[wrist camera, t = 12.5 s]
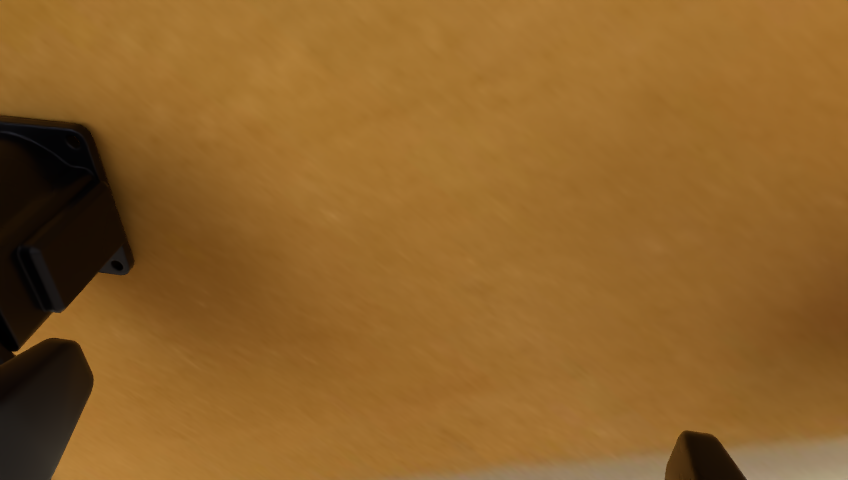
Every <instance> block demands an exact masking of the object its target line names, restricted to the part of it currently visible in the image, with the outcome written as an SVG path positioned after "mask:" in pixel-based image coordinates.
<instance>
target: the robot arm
mask: <svg viewBox="0 0 848 480" xmlns="http://www.w3.org/2000/svg"><path fill="white" fill-rule="evenodd" d="M74 137H76V138H77V139H78V140H79V142H78V141H77V140H76V139H75V138H74ZM133 266H134V259H133V256H132V253H131V250H130V247H129V244H128V241H127V238H126V235H125V232H124V229H123V226H122V223H121V220H120V217H119V214H118V211H117V208H116V205H115V202H114V199H113V196H112V193H111V190H110V187H109V184H108V181H107V178H106V175H105V172H104V169H103V166H102V163H101V160H100V157H99V154H98V151H97V148H96V145H95V142H94V139H93V137H92V135H91V133H90V132H89V131H88V130H87V129H86V128H85V127H83V126H82V125H79V124H75V123H65V122H55V121H45V120H35V119H25V118H16V117H6V116H0V480H51V478H52V476H53V474H54V472H55V470H56V467H57V465H58V463H59V461H60V459H61V457H62V455H63V452H64V450H65V448H66V446H67V444H68V441H69V439H70V437H71V435H72V433H73V431H74V428H75V426H76V424H77V422H78V420H79V418H80V415H81V413H82V411H83V409H84V407H85V404H86V402H87V400H88V398H89V396H90V394H91V391H92V388H93V381H94V379H93V374H92V371H91V369H90V367H89V365H88V362H87V360H86V358H85V356H84V353H83V351H82V349H81V347H80V345H79V344H78V343H77V342H75V341H72V340H66V339H59V338H49V339H46V340H44V341H42V342H40V343H38V344H37V345H35V346H33V347H31V348H30V349H28V350H26V351H24V352H23V353H21V354H19V355H17V356H15V355H14V354H13V353H12V352H11V351H13V352H15V351H18V350H19V349H20V348H21V347H22V346H23V344H24V343H25V342H26V341H27V340H28V339H29V338H30V337H31V336H32V335H33V333H34V332H35V331H36V330H37V329H38V328H39V327H40V326H41V325H42V324H43V322H44V321H45V320H46V319H47V318H48V317H49V316H50V315H51V314H52V313H53V312H56V313H61V312H62V311H64V310H65V309H66V307H67V306H68V305H69V304H70V303H71V302H72V301H73V300H74V299H75V297H76V296H77V295H78V294H79V293H80V292H81V291H82V290H83V289H84V287H85V286H86V285H87V284H88V283H89V282H90V281H91V280H92V278H93V277H94V276H95V275H96V274H97V273H98V272H101V273H109V274H116V275H125V274H127V273H128V272H129V271H130V270H131V269H132V268H133ZM665 480H747V479H746V478H745V476H744V475H743V474H742V472H741V471H740V469H739V468H738V467H737V465H736V464H735V463H734V461H733V460H732V458H731V457H730V456H729V454H728V453H727V451H726V450H725V449H724V447H723V446H722V444H721V443H720V442H719V440H718V439H717V438H716V437H714V436H713V435H711V434H708V433H701V432H694V431H683V432H682V433H681V434H680V435H679V437H678V440H677V442H676V444H675V447H674V449H673V451H672V454H671V456H670V459H669V461H668V463H667V467H666V473H665Z"/></svg>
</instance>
